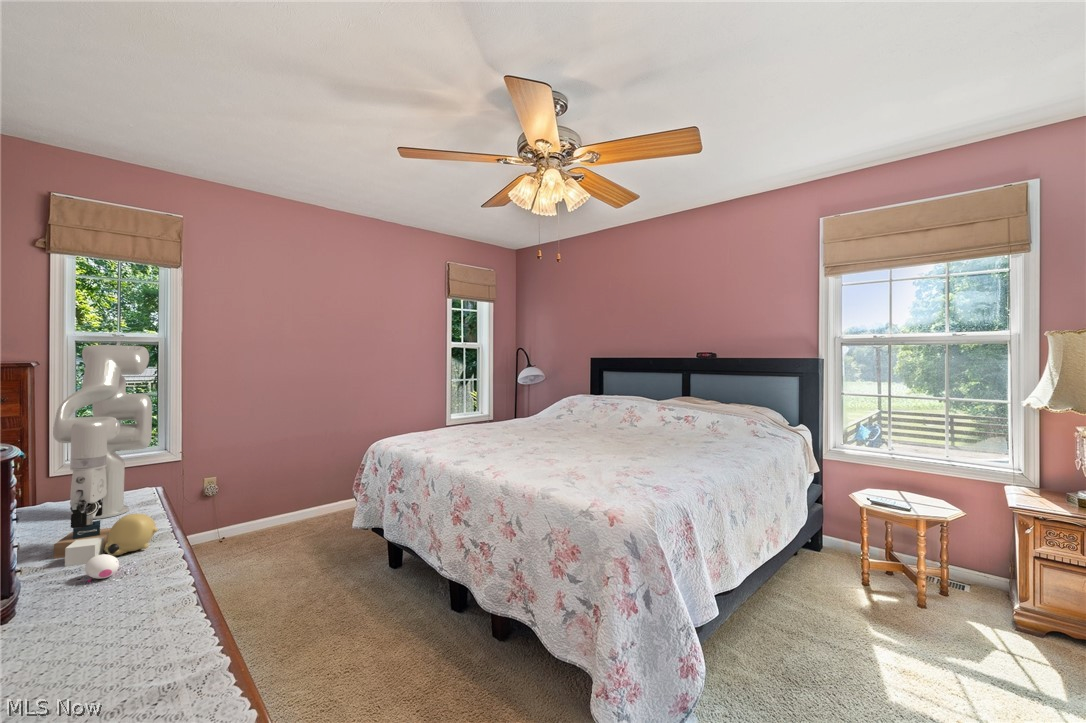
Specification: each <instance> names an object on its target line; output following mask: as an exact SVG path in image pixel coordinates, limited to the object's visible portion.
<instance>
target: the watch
mask: <svg viewBox="0 0 1086 723" xmlns="http://www.w3.org/2000/svg"><path fill="white" fill-rule="evenodd" d="M84 502H85V501H84ZM82 507H83V505H81V508H82ZM99 508H101V505H99V503H98V502H95V503H93V504H90V503H88V505H87V508H86V511H85V512H87V525H86V526H85V527H78V528H72V532H73V540H74V539H80V538H85V537H91V536H97V535H100V529H101V520H94V519H93V518H94V517H95V515H96V513H97V511H98V509H99ZM93 520H94V521H93Z"/></svg>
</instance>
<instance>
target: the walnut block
mask: <svg viewBox="0 0 1086 723" xmlns="http://www.w3.org/2000/svg"><path fill="white" fill-rule="evenodd" d="M111 528H112V527H106V528H100V535H97V536H91V537H85V538H80V539H74V540H73V531H71V532H70V533H68V534H67V535H66V536H64V537H63V538H61V539H60V540H58V541H56V542H55V543H54V544H53V559H54V560H55V559H62V558H64V559H65V548H66V547H68V546H69V545H70V544H72V543H73V542H74V541H76V540H83V539H92V538H101V537H104V546H105V544H106V541H108V536H109V532H110V530H111ZM104 551H105V549H104Z"/></svg>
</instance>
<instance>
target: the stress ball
mask: <svg viewBox="0 0 1086 723" xmlns="http://www.w3.org/2000/svg"><path fill="white" fill-rule="evenodd" d="M84 565H85V566H84V572H85V574H86V575H87V576H89V577H90V579H89V580H87V583H91V580H92V579H101V580H102V579H106V578H109V577H111V576H113V575H114V574H115V573H117V572H119V571H120V570H119V567H120V562H119V559H118V558H117V557H116V556H112V555H109V554H108V553H106V554H105V553H104V554H102V555H97V556H95V557H93V558H91V559H90V560H89V561H88V562H87V563H86V564H84Z"/></svg>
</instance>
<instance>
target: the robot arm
mask: <svg viewBox="0 0 1086 723" xmlns="http://www.w3.org/2000/svg"><path fill="white" fill-rule="evenodd" d="M81 356H82V361H83V364H84V366H85V367H84V373H83V378H82V383H81V388H80V389H78V390H77V391H75V392H73V393H72V394H71V395H69V396H67V398H65V399H64V400H63V401H62V403H60V405H59V406H58V408H57V410H56V414H55V418H54V421H53V422H54V423H53V427H52V436H53V438H54V440H55V441H56V442H58V443H61V444H70V462H69V463H70V464H69V470H70V471H72V476H71V484H70V485H71V486H70V501H69V505H70V507H69V509H70V529H71V528H72V529H73V528H78V527H85V526H86V525H87V512H85V511H86V508H87V505H88V503H90V504H93V503H95V502H98V503H99V505H101V508H99V509H98V511H97V513H96V515H95V517H94V518H93V520H98V519H99V520H100V519H105V518H106V519H107V518H112V517H116V516H121V515H123V514H125V513H127V512H129V510H130V506H128V505H126V504H124V502H125V501H124V499H125V468H126V466H125V461H124V459H123V457H122V456H120V455H119V454H118V453H117V452H121V451H122V452H123V451H134V450H135V451H136V450H143V449H146V448H148V447H149V446H150V445H151V442H152V435H153V434H152V431H153V429H152V428H153V426H152V424H153V402H152V399H151V397H150V396H149V395H147V394H145V393H127V391H126V390H127V388H126V387H127V381H126V378H125V376H128V375H129V376H133V375H134V376H138V375H142V374H143V373H144V372H145V370H146V368H147V367H148V365H149V362H150V354H149V350H148V349H147V348H146V347H144V346H142V345H141V346H140V345H121V344H119V345H118V344H93V345H87V346H86V347H84V348H83V349H82V351H81ZM124 375H125V376H124ZM87 406H92V416H80V417H79V416H78V417H77V416H76V417H71V416H72V415H73V414H74V413H76V411H78V410H80V409H83V408H84V407H87ZM120 421H134V422H135V423H120ZM84 501H85V502H84ZM81 505H83V507H82V508H81Z"/></svg>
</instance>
